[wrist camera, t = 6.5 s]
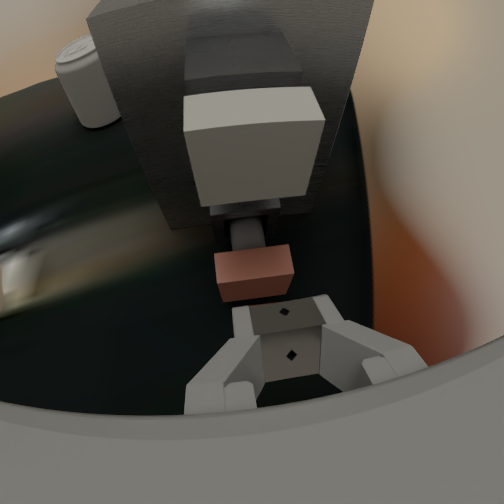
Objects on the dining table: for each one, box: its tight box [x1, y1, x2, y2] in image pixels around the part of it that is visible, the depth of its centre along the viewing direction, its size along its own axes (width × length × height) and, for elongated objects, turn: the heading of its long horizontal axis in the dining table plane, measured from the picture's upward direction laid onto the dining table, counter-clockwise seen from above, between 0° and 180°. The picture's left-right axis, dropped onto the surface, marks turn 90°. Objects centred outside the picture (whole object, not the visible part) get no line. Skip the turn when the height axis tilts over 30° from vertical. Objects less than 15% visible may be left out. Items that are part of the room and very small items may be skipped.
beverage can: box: [55, 34, 121, 128], centre depth 32 cm, size 8×8×12 cm
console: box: [86, 0, 374, 245], centre depth 21 cm, size 14×14×22 cm
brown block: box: [214, 216, 294, 302], centre depth 22 cm, size 5×6×5 cm
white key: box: [184, 87, 325, 207], centre depth 13 cm, size 5×6×5 cm
